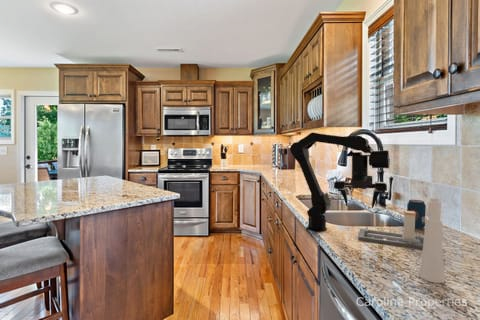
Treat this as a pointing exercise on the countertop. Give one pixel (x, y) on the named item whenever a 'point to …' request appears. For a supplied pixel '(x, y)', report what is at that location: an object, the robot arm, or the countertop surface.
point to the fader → (409, 225)
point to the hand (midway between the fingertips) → (359, 207)
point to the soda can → (418, 212)
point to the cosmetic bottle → (433, 245)
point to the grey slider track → (390, 238)
